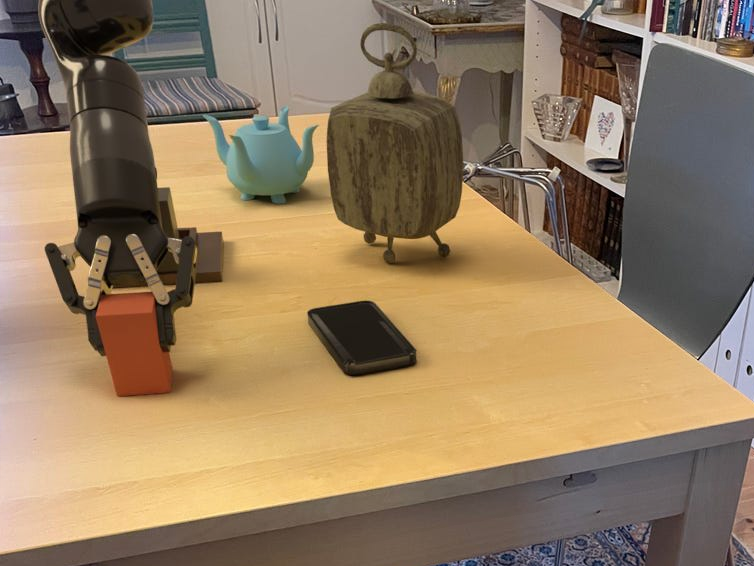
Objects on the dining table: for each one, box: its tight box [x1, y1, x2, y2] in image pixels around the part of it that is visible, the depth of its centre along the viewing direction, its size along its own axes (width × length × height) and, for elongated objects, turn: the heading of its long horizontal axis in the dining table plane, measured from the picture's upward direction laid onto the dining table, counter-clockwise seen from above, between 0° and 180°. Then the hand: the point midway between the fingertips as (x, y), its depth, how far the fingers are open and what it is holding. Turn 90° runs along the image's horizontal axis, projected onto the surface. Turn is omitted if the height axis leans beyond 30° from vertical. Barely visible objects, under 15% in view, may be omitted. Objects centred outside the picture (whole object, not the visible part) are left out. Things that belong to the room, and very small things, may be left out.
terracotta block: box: [96, 291, 174, 397], centre depth 90 cm, size 5×5×8 cm
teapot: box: [202, 105, 320, 204], centre depth 133 cm, size 13×13×10 cm
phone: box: [306, 299, 418, 376], centre depth 99 cm, size 8×1×15 cm
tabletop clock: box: [326, 22, 465, 265], centre depth 110 cm, size 14×9×25 cm, turn 66°
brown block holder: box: [113, 186, 224, 289], centre depth 113 cm, size 14×14×9 cm
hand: (134, 350), depth 88 cm, fingers closed on terracotta block, 5 cm apart
